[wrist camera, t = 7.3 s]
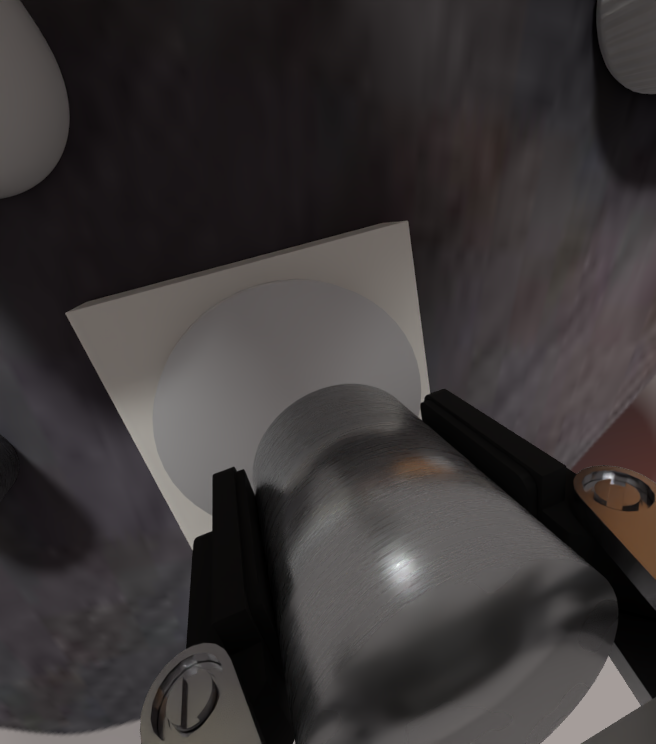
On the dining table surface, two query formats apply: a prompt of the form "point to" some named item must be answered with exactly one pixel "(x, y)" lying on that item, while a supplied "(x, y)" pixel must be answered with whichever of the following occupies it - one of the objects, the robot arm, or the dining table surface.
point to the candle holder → (28, 103)
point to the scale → (253, 352)
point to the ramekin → (629, 42)
